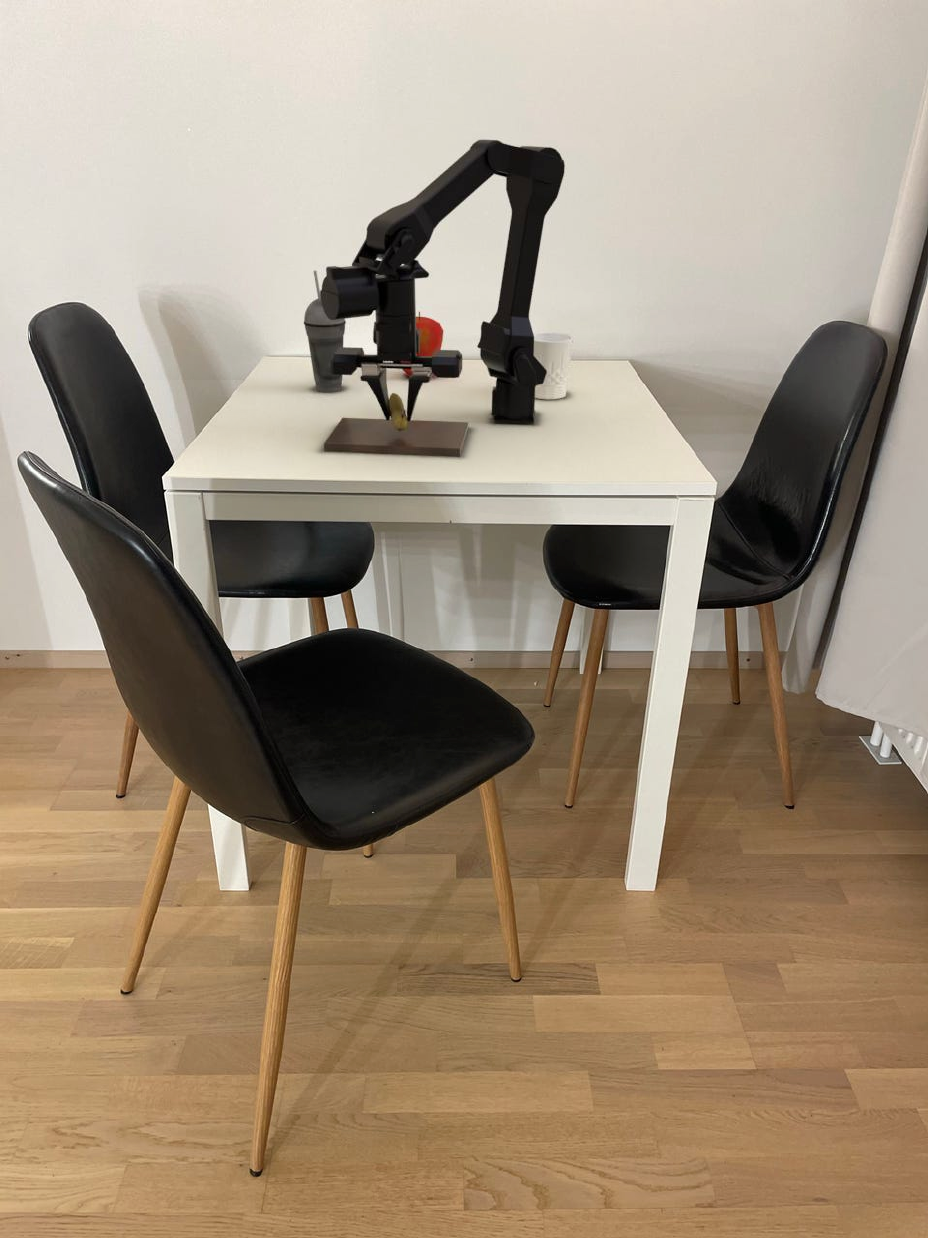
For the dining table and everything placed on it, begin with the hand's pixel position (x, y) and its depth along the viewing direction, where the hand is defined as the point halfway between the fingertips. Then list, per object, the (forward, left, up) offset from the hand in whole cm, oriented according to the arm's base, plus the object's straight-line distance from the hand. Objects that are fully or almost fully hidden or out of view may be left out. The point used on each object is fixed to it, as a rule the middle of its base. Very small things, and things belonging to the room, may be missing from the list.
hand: (398, 420), depth 139 cm
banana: (0, 0, -1) cm, 1 cm away
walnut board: (0, 0, -3) cm, 3 cm away
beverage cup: (+17, -27, -3) cm, 32 cm away
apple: (+2, -38, -3) cm, 39 cm away
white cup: (-22, -28, -3) cm, 36 cm away
